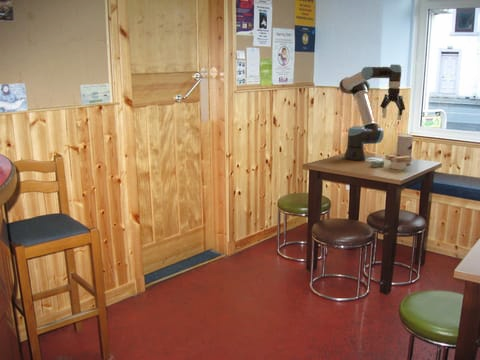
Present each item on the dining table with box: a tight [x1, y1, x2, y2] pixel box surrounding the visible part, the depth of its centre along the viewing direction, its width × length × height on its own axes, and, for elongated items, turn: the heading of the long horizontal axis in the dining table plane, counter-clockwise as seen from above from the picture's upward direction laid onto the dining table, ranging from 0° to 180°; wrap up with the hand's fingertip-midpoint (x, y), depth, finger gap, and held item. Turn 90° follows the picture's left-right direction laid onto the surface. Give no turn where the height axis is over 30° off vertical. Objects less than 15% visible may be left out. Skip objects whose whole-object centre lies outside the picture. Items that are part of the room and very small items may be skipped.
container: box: [395, 134, 414, 166], centre depth 360 cm, size 10×10×20 cm
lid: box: [384, 153, 413, 163], centre depth 345 cm, size 12×12×4 cm
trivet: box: [370, 159, 385, 169], centre depth 351 cm, size 6×6×4 cm
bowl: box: [389, 161, 407, 171], centre depth 346 cm, size 10×10×6 cm
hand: (391, 119), depth 352 cm, fingers open, 13 cm apart
